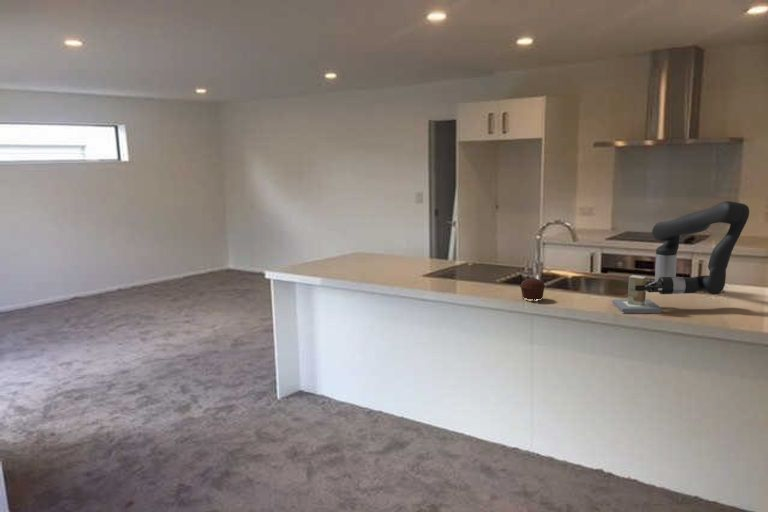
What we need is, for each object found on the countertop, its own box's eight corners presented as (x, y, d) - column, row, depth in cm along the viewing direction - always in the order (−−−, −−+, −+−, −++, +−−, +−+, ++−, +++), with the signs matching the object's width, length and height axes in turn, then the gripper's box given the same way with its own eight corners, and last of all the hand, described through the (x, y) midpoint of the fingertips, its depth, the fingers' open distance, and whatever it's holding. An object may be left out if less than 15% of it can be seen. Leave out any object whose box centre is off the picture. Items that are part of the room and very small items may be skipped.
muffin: (547, 298, 279) (548, 277, 277) (541, 303, 270) (541, 282, 268) (523, 296, 285) (523, 276, 283) (516, 301, 275) (516, 280, 274)
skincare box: (627, 303, 255) (627, 276, 253) (631, 301, 258) (632, 274, 256) (642, 306, 250) (643, 278, 248) (646, 304, 253) (647, 276, 251)
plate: (612, 303, 263) (612, 299, 263) (649, 303, 261) (649, 299, 261) (622, 313, 248) (622, 308, 247) (661, 312, 246) (661, 308, 245)
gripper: (665, 273, 258) (627, 274, 259) (678, 280, 244) (637, 281, 246) (665, 290, 259) (627, 290, 261) (677, 297, 245) (637, 298, 247)
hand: (632, 286), depth 253 cm, fingers open, 8 cm apart
